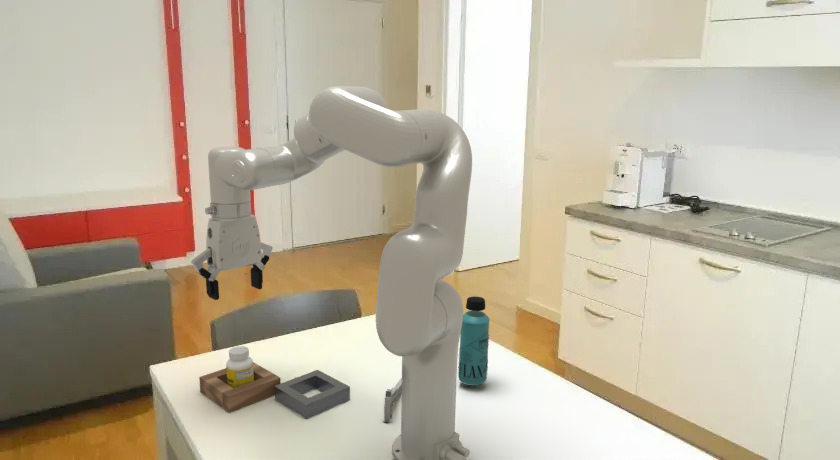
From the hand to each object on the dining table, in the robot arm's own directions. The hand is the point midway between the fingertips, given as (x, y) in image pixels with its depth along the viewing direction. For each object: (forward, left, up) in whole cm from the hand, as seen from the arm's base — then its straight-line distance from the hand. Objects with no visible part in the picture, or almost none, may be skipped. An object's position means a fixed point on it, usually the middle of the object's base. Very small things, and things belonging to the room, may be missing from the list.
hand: (235, 292), depth 127 cm
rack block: (0, 0, -22) cm, 22 cm away
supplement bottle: (0, 0, -22) cm, 22 cm away
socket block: (-13, -9, -22) cm, 27 cm away
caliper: (-25, -22, -23) cm, 40 cm away
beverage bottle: (-32, -38, -22) cm, 54 cm away
